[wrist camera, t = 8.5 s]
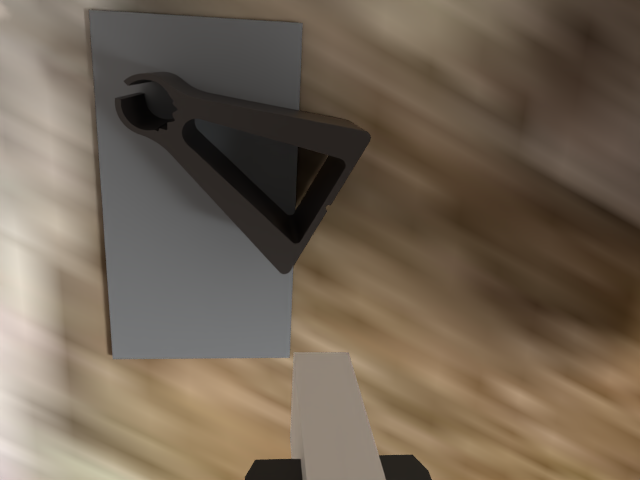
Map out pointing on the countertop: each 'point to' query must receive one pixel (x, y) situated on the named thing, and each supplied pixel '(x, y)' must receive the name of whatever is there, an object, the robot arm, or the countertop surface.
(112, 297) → the mat
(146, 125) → the phone stand
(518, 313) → the countertop surface
